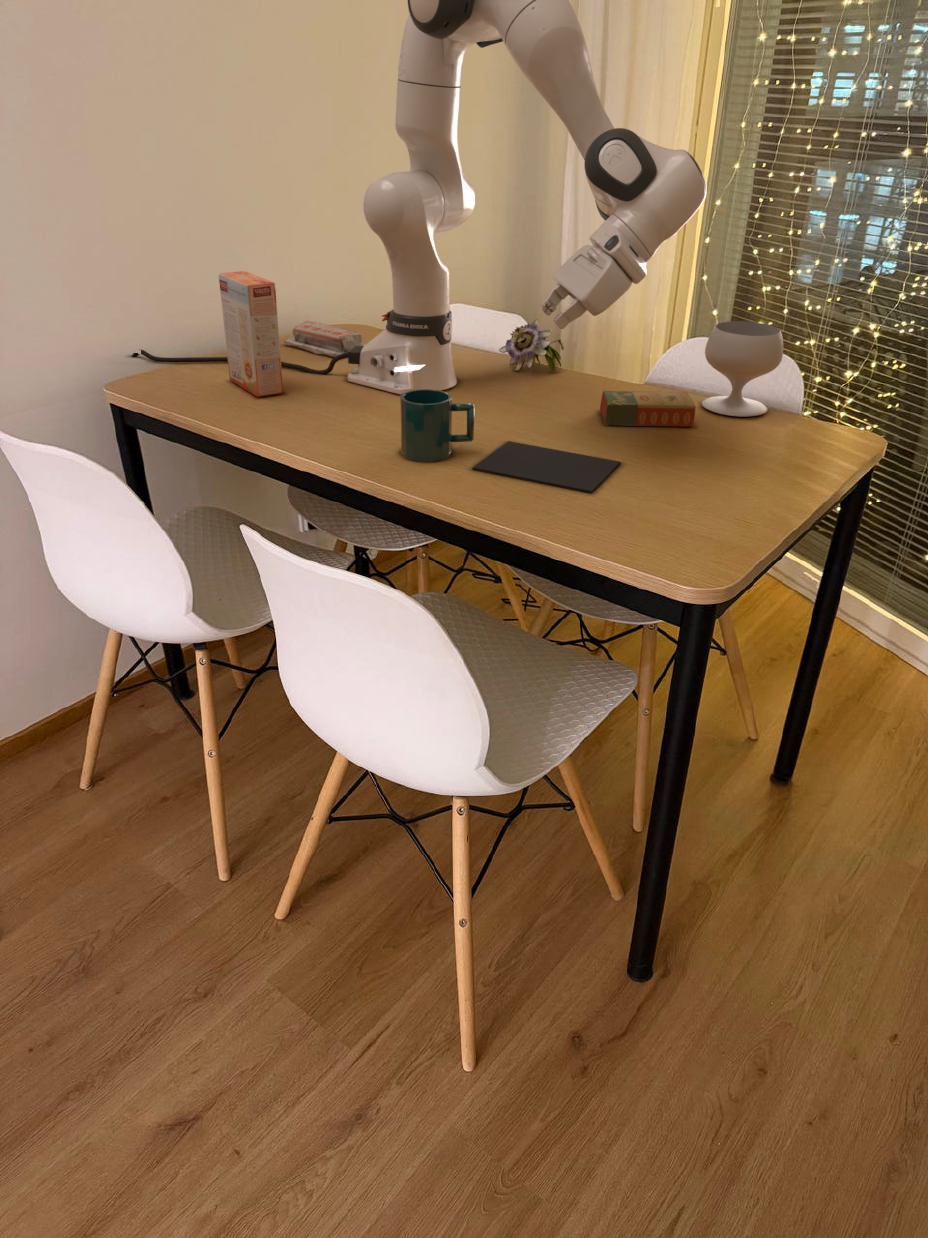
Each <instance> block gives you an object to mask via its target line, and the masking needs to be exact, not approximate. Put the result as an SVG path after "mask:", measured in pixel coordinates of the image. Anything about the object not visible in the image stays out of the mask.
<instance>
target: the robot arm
mask: <svg viewBox="0 0 928 1238" xmlns="http://www.w3.org/2000/svg"><path fill="white" fill-rule="evenodd" d="M407 8H408V14H409V15H408V17H407V19H406V22H405V26H404V30H403V34H402V39H401V44H400V52H399V58H398V68H397V81H396V82H397V83H396V98H395V99H396V102H395V118H394V121H395V122H394V125H395V126H394V127H395V132H396V133H397V136H398V137H399V138H400V139H401V140H402V141H403V142H404V143H405V146H406V149H407V153H408V157H409V158H408V159H409V163H410V166H409V167H410V169H409V171H399V172H391V173H389V174H387V175H384V176H382V177H380V178H378V179H376V180H374V181H372V183H370V184H369V186H368V187H367V188H366V190H365V193H364V197H363V202H362V204H363V205H362V206H363V207H362V208H363V214H364V218H365V221H366V223H367V225H368V227H370V230H371V231H372V232H373V233H374V234H376V235H377V236H378V237H379V239H380V241H381V242H382V245H383V246H384V249H385V251H386V254H387V258H388V261H389V264H390V273H391V282H392V283H391V284H392V285H391V286H392V309H391V310H390V311H387V312H386V313H385V314H382V315H381V316H380V317H382V319H381V322H386V325H385V329H383V330H382V331H381V332H380V333H378V334H377V335H376V336H375V337H373V339H371V340H370V341H368V342H367V343H366V345H365V346H355V347H354V348H353V349H351V350H350V351H349V352H347V353H343V354H340V355H338V356H336V357H332V359H331V360H330V362H329V364H328V367H327V368H325V369H315V368H310V367H307V366H304V365H300V364H296V363H291V362H285V361H281V368H287V369H292V370H297V371H302V372H304V373H309V374H312V375H313V374H314V375H327V374H330V373H331V372H332V371H333V370H334V368H335V365H336V363H338V362H339V361H340V360H343V359H347V364H348V365H357V367H356V368H353V369H352V370H351V371H349V372H348V374H347V382H349V383H353V384H358V385H361V386H364V387H369V388H373V389H377V390H381V391H385V392H389V393H393V394H397V395H402V394H403V393H405V392H408V391H412V390H419V389H431V390H439V391H445V390H449V389H451V388H453V387H455V386H456V385H457V383H458V379H457V376H456V372H455V368H454V363H453V362H454V361H453V356H452V346H451V341H452V334H453V333H452V332H453V316H452V311H451V310H450V309H451V308H450V306H451V305H450V300H451V298H450V297H451V274H450V273H451V272H450V269H449V266H448V265H447V263H446V262H444V261H443V260H442V259H441V258H440V257H439V253H438V251H437V248H436V247H437V246H436V244H435V243H436V242H435V234H439V233H444V232H449V231H452V230H454V229H455V228H457V227H459V226H461V225H462V224H464V223H466V222H467V221H468V220H469V219H470V217H471V216H472V214H473V212H474V208H475V205H476V195H475V190H474V187H473V184H472V183H471V181H470V179H469V178H468V177H467V175H466V174H465V171H464V168H463V165H462V160H461V154H460V149H459V148H460V146H459V136H458V135H459V117H460V116H459V115H460V101H461V90H462V89H461V86H462V76H463V75H462V74H463V64H464V63H463V61H464V57H465V55H466V53H467V51H468V49H470V47H472V46H473V45H474V44H476V45H477V46H478V47H479V48H482V49H483V48H486V47H489V46H492V45H496V44H499V43H504V45H505V47H506V49H507V51H508V53H509V54H510V56H511V58H512V59H513V61H514V62H515V64H516V66H517V67H518V68H519V69H520V71H521V73H522V74H523V75H524V76H525V77H526V79H527V80H528V81H529V83H530V84H531V85H532V86H533V88H535V89H536V91H537V92H538V93H539V94H540V95H541V96H542V98H543V100H545V102H546V103H547V104H548V105H549V107H550V108H551V109H552V110H553V111H554V113H555V114H556V115H557V117H558V118H559V119H560V120H561V122H562V123H563V125H564V126H565V127H566V129H567V131H568V133H569V135H570V136H571V138H572V140H573V142H574V143H575V145H576V147H577V149H578V151H579V154H580V155H581V157H582V159H583V160H584V164H583V166H584V172H585V174H584V175H585V178H586V180H587V183H588V186H589V188H590V190H591V193H592V196H593V198H594V202H595V205H596V208H597V211H598V214H599V215H600V217H601V218H602V219H603V223H602V224H600V226H599V227H598V228H597V229H596V230H595V231H594V232H593V233H592V234H591V235H590V236H589V240H590V242H591V244H592V245H590V244H586V245H584V246H582V247H581V248H579V249H578V250H577V251H576V252H574V254H572V255H571V256H570V257H569V258H568V259H566V261H565V262H564V263H562V265H561V266H560V267H558V269H557V270H556V271H555V272H554V275H553V276H552V278H553V280H554V281H555V283H556V285H555V286H554V287H553V288H552V290H551V291H550V293H549V295H548V296H547V297H546V298H547V299H546V300H544V301H543V302H542V303H541V305H540V310H541V311H542V312H543V313H544V314H545V315H546V316H551V315H552V313H554V312H555V311H556V310H557V306H559V304H560V303H561V301H562V300H565V299H566V298H567V297H568V296H569V297H571V298H572V299H573V301H571V303H570V305H569V306H567V308H565V309H564V310H563V311H559V313H557V315H555V316H554V318H553V322H554V324H555V325H556V326H557V327H558V328H559V329H560V330H564V329H565V328H566V327H567V326H568V325H569V324H570V323H572V322H573V321H575V320H577V319H578V318H580V317H582V316H583V315H584V314H585V313H586V312H588V313H589V314H590V315H592V316H593V317H596V316H598V315H600V314H602V313H604V312H605V311H607V310H608V309H609V308H610V307H611V306H612V305H614V303H616V302H617V301H618V300H619V299H621V297H622V296H623V295H625V294H626V292H627V291H628V290H629V289H631V286H632V285H633V284H634V285H638V284H639V283H641V282H642V281H643V280H644V279H645V277H646V276H647V274H648V273H647V263H648V262H649V261H650V260H651V259H652V258H653V257H654V255H655V254H656V253H657V250H658V249H659V248H660V246H661V245H662V244H663V243H665V242H667V241H668V240H670V239H672V238H673V237H674V236H676V234H677V233H678V232H679V231H680V230H681V229H682V228H683V227H684V226H685V225H686V224H687V223H688V222H689V221H690V219H691V218H692V217H693V216H694V215H695V214H696V213H697V211H698V210H699V208H700V207H701V206H702V205H703V203H704V202H705V200H706V198H707V191H708V190H707V189H708V188H707V181H706V177H705V175H704V173H703V170H702V169H701V167H700V165H699V163H698V162H697V160H696V159H695V157H694V156H693V155H692V154H691V153H690V152H689V151H687V150H685V149H682V148H681V149H680V148H679V149H671V148H667V147H663V146H660V145H657V144H655V143H653V142H651V141H649V140H647V139H645V138H642V136H639V135H638V134H636V133H635V132H634V131H633V130H631V129H628V128H623V127H617V128H615V127H614V125H613V123H612V121H611V120H610V118H609V115H608V113H607V112H606V110H605V108H604V106H603V104H602V102H601V98H600V96H599V93H598V89H597V86H596V81H595V78H594V74H593V69H592V65H591V60H590V55H589V50H588V46H587V42H586V39H585V36H584V32H583V30H582V26H581V24H580V21H579V19H578V16H577V14H576V12H575V10H574V7H573V6H572V3H571V2H570V0H407ZM140 350H141V354H138V353H134V352H133V353H132V354H131V358H138V356H139V355H142V356H144V357H145V358H147V359H149V360H151V361H153V362H157V363H173V364H175V363H176V364H177V363H228V357H227V356H208V357H207V356H206V357H205V356H202V357H198V356H197V357H195V356H194V357H192V356H190V357H189V356H188V357H187V356H186V357H162V356H155V355H153V354H151V353H149V352H148V351H146V350H144V349H140Z"/></svg>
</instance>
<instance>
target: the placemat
mask: <svg viewBox="0 0 928 1238" xmlns="http://www.w3.org/2000/svg"><path fill="white" fill-rule="evenodd" d="M620 465H621V461H619V460H614V459H607V458H603V457H598V456H592V455H586V454H580V453H575V452H570V451H564V450H559V449H554V448H548V447H543V446H538V445H537V446H536V445H532V444H528V443H527V444H526V443H522V442H521V443H520V442H515V441H510V440H508V441H507V442H505V443H504V444H502V445H501V446H500V447H498V448H497V449H496V450H494V451H493V452H492V453H490V454H489V455H487V456H486V457H485V458H483V459H482V460H481V461H478V462H477V464H475V465H473V466H472V470H473V471H478V472H483V473H488V474H492V475H498V476H503V477H507V478H512V479H518V480H522V481H527V482H533V483H538V484H542V485H548V486H553V487H558V488H562V489H568V490H573V491H577V492H581V493H588V494H593V493H594V491H596V489H597V488H599V486H601V485H602V484H603V482H604V481H606V479H607V478H608V477H610V475H611V474H612V473H613V472H614V471H616V469H617V468H618V467H619V466H620Z"/></svg>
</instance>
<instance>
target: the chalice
mask: <svg viewBox="0 0 928 1238" xmlns="http://www.w3.org/2000/svg"><path fill="white" fill-rule="evenodd" d="M704 356H705V359H706V362H707V363H708V364H709V365H710V366H711V367H712V368H713V369H714V370H715V371H717V372H719V374H721V375H723V376H724V377H725V378H726V379H727V380H728V381H729V383H730V384H731V389H732V390H731V393H730V394H729V395H718V396H717V395H716V396H710V397H707V398H705V399H704V400H702V402H701V405H702V406H703V408H704V409H706V410H708V411H710V412H713V413H717V414H720V415H725V416H731V417H755V416H761V415H764V414H765V413H766V412H768V407H767V406H766V405H765V404H764V403H762V402H760V401H758V400H755V399H752V398H748V397H744V396H743V394H742V393H743V389H744V387H745V386H746V385H747V384H748V383H749V382H750V381H752V380H755V379H757V378H759V377H762V376H764V375H766V374H769V373H771V372H773V371H774V370H775V369H776V368H778V367H779V365H780V364H781V363H782V360H783V357H784V339H783V334H782V331H781V330H780V329H779V328H778V327H777V326H774V325H771V324H767V323H761V322H755V321H744V320H743V321H742V320H734V321H733V320H732V321H724V322H723V321H722V322H719V323H717V324H716V325H714V327H713V328H712V330H711V332H710V334H709V335H708V339H707V342H706V344H705V347H704Z"/></svg>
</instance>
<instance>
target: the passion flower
mask: <svg viewBox="0 0 928 1238" xmlns="http://www.w3.org/2000/svg"><path fill="white" fill-rule="evenodd" d="M539 325H540V321H539V320H538V318H536V319H534V320H533V321H532V322H531V323H527V324H524V325H520V326H519V327H518V326H516V328H515V329H514V330H512V333H509V334H510V335H511V338H510V339H507V340H506V342H505V345H504V346H502V347H500V348H499V349H498V351H499V352H500V353H503V354H504V353H507V354H508V356H509V357H510V359H509V366H515V372H520V371H521V370H522V369H523V368H524V364H525V366H526V367H527V368H528V369H531V368H532V367H533V366H534V365H535V361H536V360H537V362H538V364H539V365H541V361H540V358H539V356H540V357H545V360H546V363H547V365H548V368H549V370H550V371H551V372H553V373H556V371H557V363H558V365H559V368H561V367H562V362H563V361H562V356H561V355H560V353H559V352H558V351H557V350H556V349H555V348H554V347H552V346H551V344H554V343H556V342H558V343H559V345H560V348H561V350H562V351H563V350H565V346H564V343H563V342H562V339H561V338H560V339H556V340H554V341H550V340H548V339H547V338H549V336H551V335H552V332H553V330H552V329H551V328H550V329H544V330H540V329H539ZM535 359H536V360H535Z"/></svg>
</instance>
